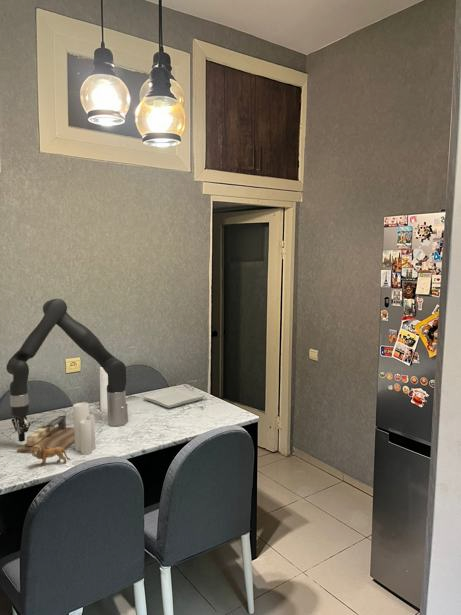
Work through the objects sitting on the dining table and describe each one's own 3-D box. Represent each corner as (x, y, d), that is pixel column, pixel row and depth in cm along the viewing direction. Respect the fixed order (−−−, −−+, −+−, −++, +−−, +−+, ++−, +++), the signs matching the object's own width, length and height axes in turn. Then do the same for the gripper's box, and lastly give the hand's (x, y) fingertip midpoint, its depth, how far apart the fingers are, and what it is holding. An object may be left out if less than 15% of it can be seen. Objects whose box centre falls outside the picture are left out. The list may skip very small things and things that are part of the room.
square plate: (178, 392, 294) (178, 386, 293) (206, 401, 274) (205, 394, 273) (142, 401, 275) (141, 395, 275) (168, 411, 255) (168, 404, 255)
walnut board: (88, 430, 226) (87, 415, 226) (61, 453, 199) (60, 436, 198) (49, 429, 228) (48, 414, 228) (17, 452, 201) (16, 435, 200)
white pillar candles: (72, 448, 204) (70, 404, 202) (87, 444, 209) (85, 401, 207) (84, 455, 196) (82, 410, 194) (100, 450, 201) (98, 406, 199)
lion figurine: (32, 470, 183) (31, 448, 183) (32, 464, 188) (30, 443, 187) (71, 462, 190) (70, 441, 189) (69, 458, 194) (68, 437, 193)
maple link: (43, 432, 219) (43, 423, 219) (51, 432, 219) (51, 423, 218) (24, 446, 203) (24, 436, 202) (33, 446, 202) (32, 436, 202)
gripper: (4, 403, 208) (6, 440, 209) (18, 408, 199) (21, 447, 201) (20, 399, 213) (22, 435, 215) (35, 404, 205) (37, 441, 207)
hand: (21, 440), depth 208 cm, fingers closed
